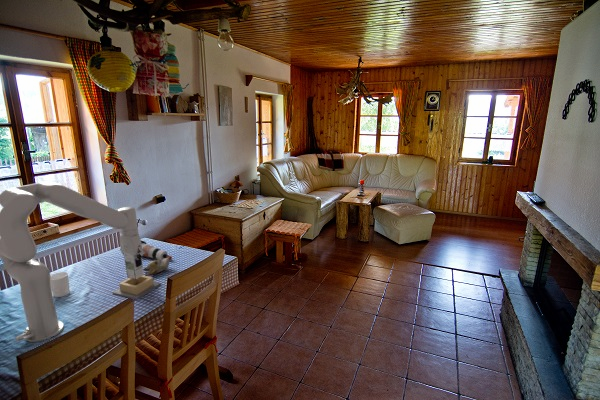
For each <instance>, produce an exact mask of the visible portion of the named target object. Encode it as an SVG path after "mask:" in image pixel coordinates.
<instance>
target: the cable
mask: <svg viewBox="0 0 600 400" xmlns="http://www.w3.org/2000/svg"><path fill="white" fill-rule="evenodd" d="M141 244H142V250H143V251H144V252H145V254H144V255H143V257H146V258H151V259H154V260H155V259H156V258H158V259H160V260H163V259H165V258H168V257H169V261H170V260H172V258H173V256H171V255H168V251H166V250H162V249H160V248H157V247H155V246H153V245H149V244H147V242H146V241H144V240H141Z"/></svg>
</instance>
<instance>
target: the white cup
mask: <svg viewBox="0 0 600 400" xmlns="http://www.w3.org/2000/svg"><path fill="white" fill-rule="evenodd" d="M50 283H51V290H52V295H53V298H61V297H64V296H67V295H68V294H69V293H70V292H71V290H70V280H69V273H68V272H67V271H64V272H63V271H61V272H60V271H59V272H56V273H54V274H53V273H52V274H50Z"/></svg>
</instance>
